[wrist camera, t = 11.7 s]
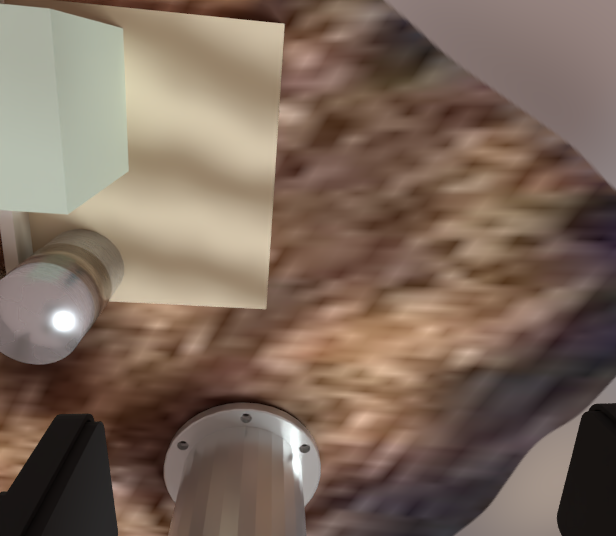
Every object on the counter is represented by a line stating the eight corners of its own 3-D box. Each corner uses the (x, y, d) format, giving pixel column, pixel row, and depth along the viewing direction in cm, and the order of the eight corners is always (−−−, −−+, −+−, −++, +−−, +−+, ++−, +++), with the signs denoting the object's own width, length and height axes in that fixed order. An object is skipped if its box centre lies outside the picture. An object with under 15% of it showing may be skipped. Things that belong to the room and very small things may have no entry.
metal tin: (126, 302, 34) (86, 367, 27) (48, 298, 34) (-15, 363, 27) (123, 230, 33) (79, 278, 25) (40, 225, 32) (-30, 272, 25)
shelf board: (266, 299, 37) (265, 322, 33) (35, 287, 35) (11, 310, 32) (283, 25, 30) (285, 20, 27) (1, -3, 29) (-33, -13, 25)
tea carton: (122, 28, 28) (50, 8, 19) (128, 171, 31) (68, 214, 22) (26, 18, 28) (-96, -7, 19) (41, 164, 31) (-59, 206, 21)
